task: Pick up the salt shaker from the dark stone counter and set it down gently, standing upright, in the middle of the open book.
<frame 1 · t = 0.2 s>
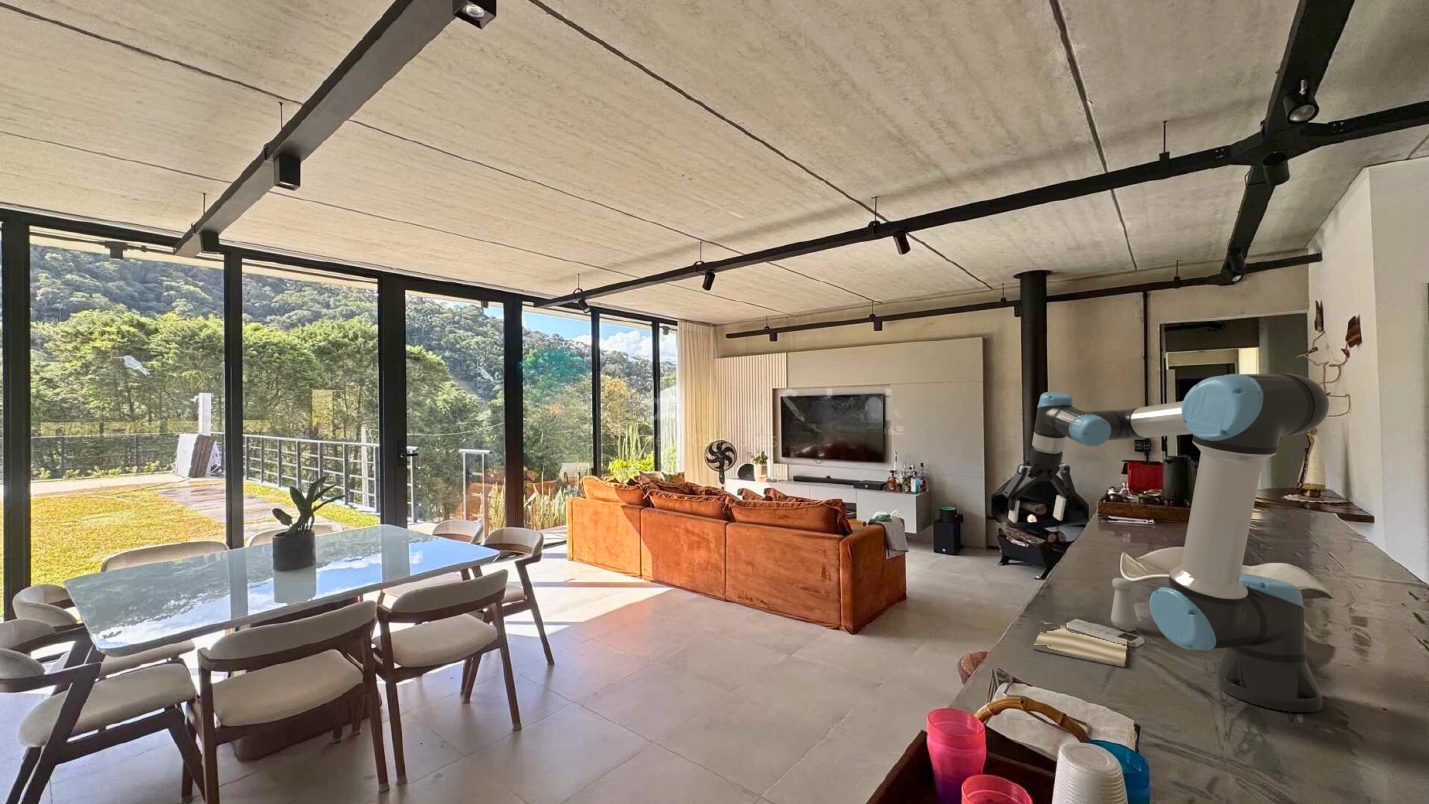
hand: (1034, 519, 160), 27 cm above the counter, tool tilted 20°, fingers open, 13 cm apart
open book: (1081, 645, 139), on the counter
salt shaker: (1124, 629, 148), on the counter
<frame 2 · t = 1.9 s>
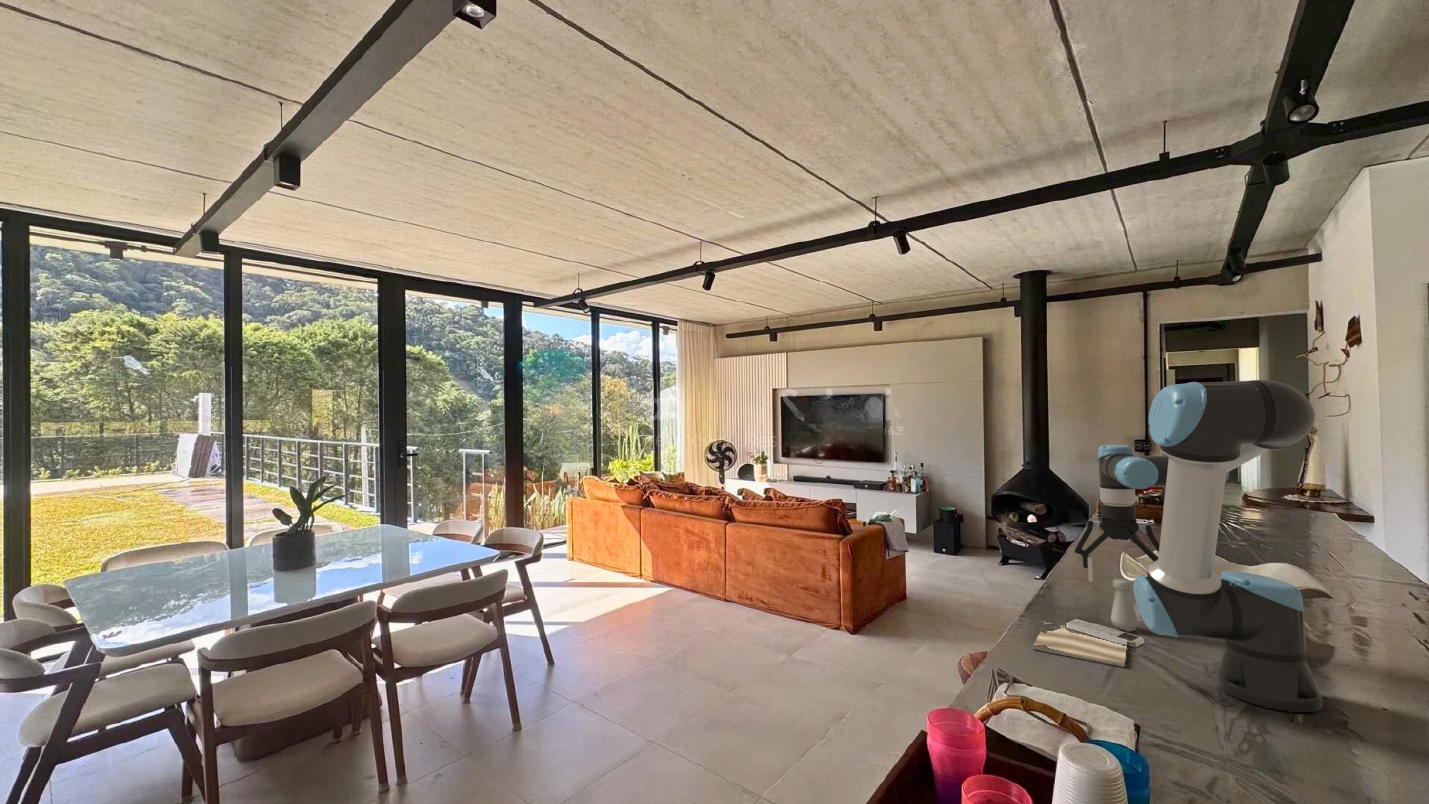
hand: (1121, 584, 149), 11 cm above the counter, tool pointing down, fingers open, 13 cm apart
nothing on the counter moved.
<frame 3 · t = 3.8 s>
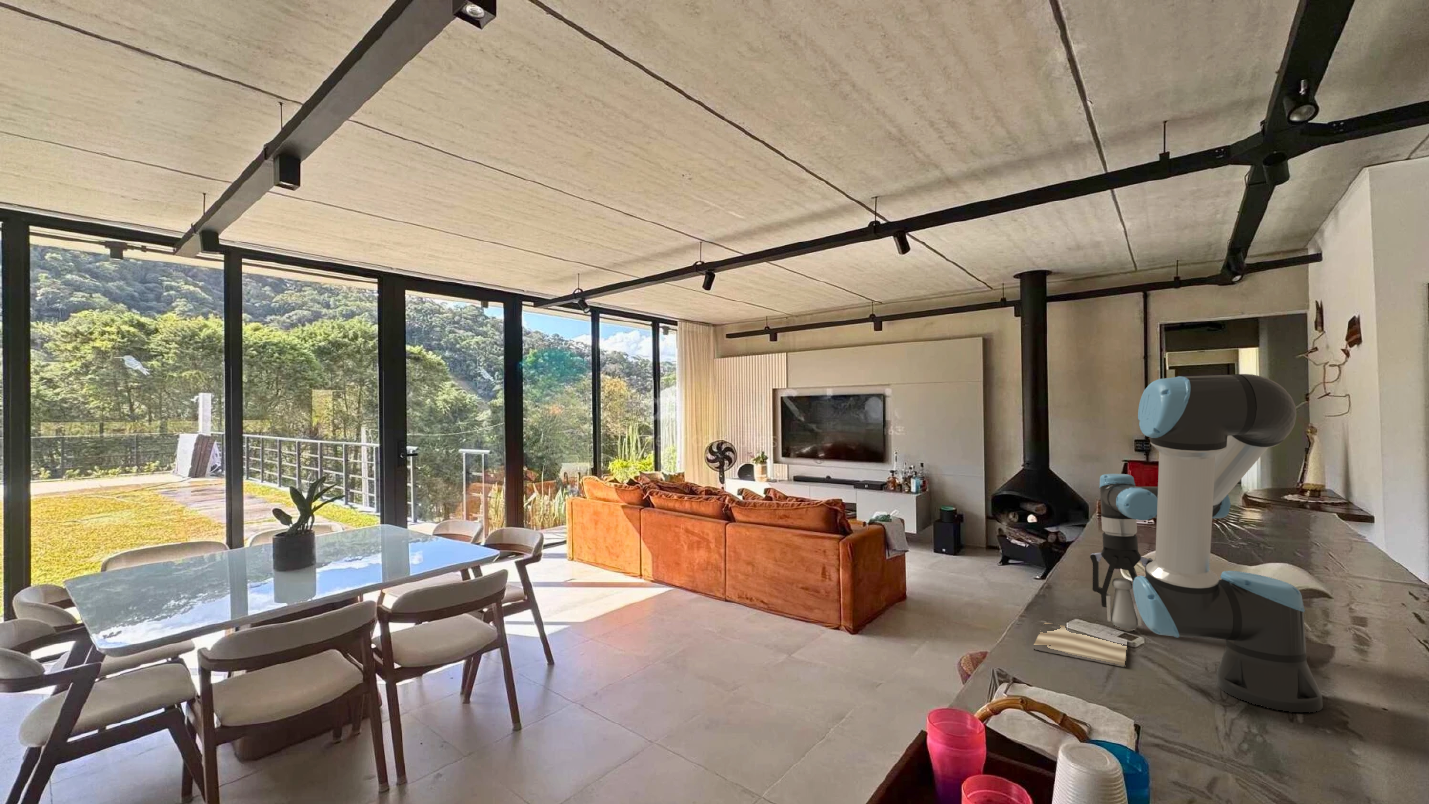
hand: (1124, 621, 148), 2 cm above the counter, tool pointing down, fingers closed on salt shaker, 6 cm apart
salt shaker: (1124, 629, 148), on the counter, touching gripper
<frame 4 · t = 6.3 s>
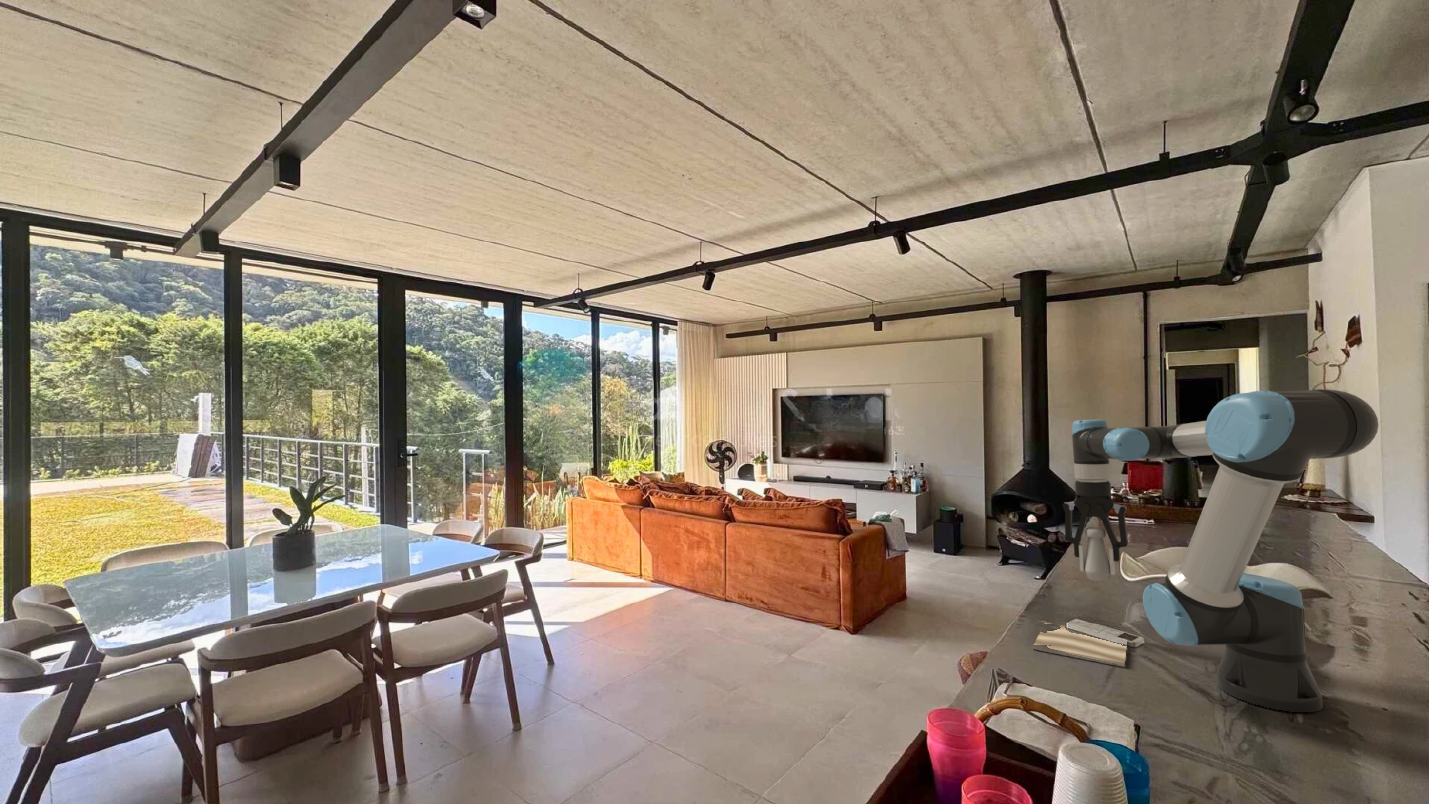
hand: (1097, 571, 143), 17 cm above the counter, tool pointing down, fingers closed on salt shaker, 6 cm apart
salt shaker: (1098, 580, 143), point 15 cm above the counter, touching gripper
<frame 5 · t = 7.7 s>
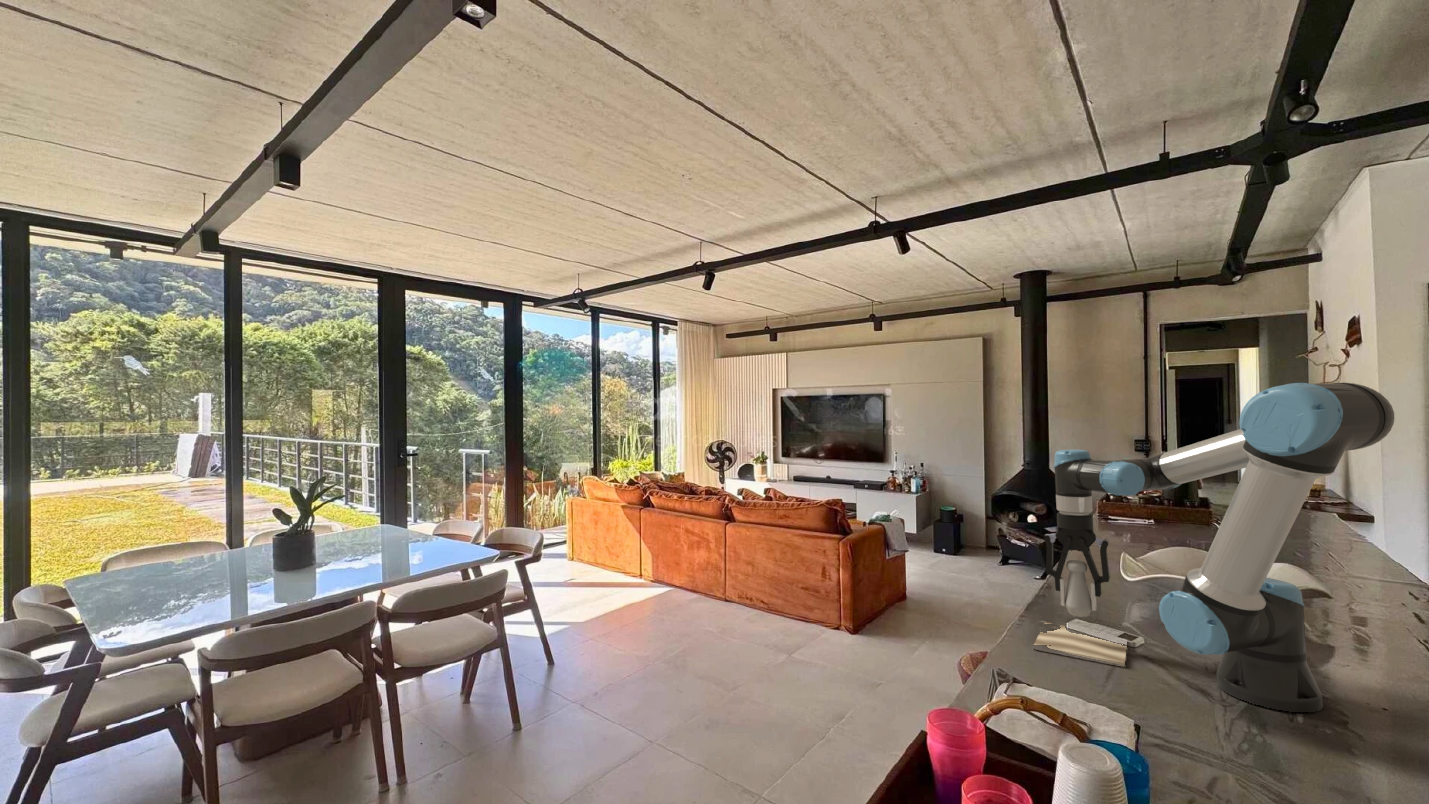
hand: (1078, 606, 139), 9 cm above the counter, tool pointing down, fingers closed on salt shaker, 6 cm apart
salt shaker: (1079, 614, 140), point 7 cm above the counter, touching gripper
when the fingers open (5 cm above the counter, at t = 9.0 s): salt shaker drops 1 cm, resting on open book.
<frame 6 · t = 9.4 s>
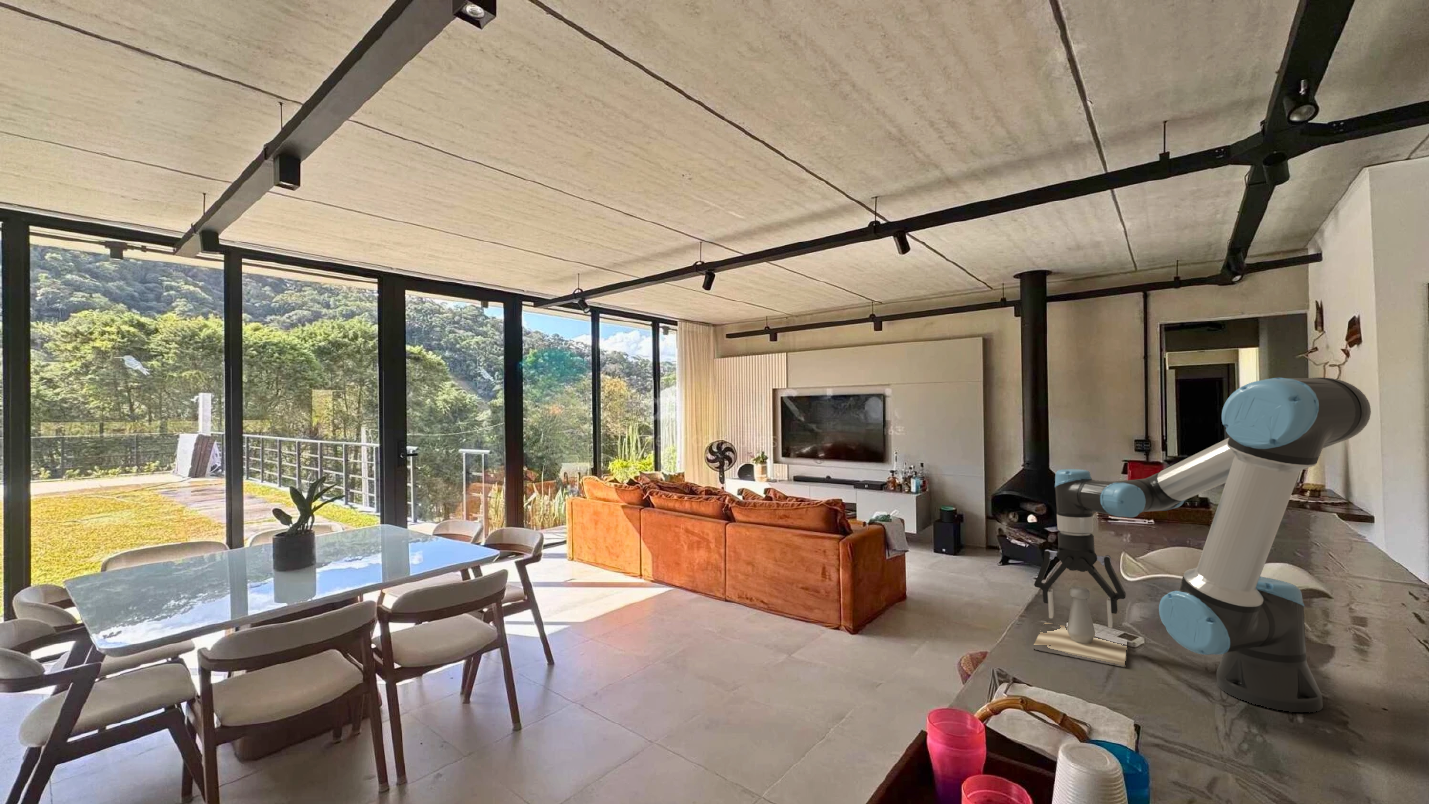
hand: (1080, 621, 139), 6 cm above the counter, tool pointing down, fingers open, 11 cm apart
salt shaker: (1081, 641, 139), point 1 cm above the counter, touching open book
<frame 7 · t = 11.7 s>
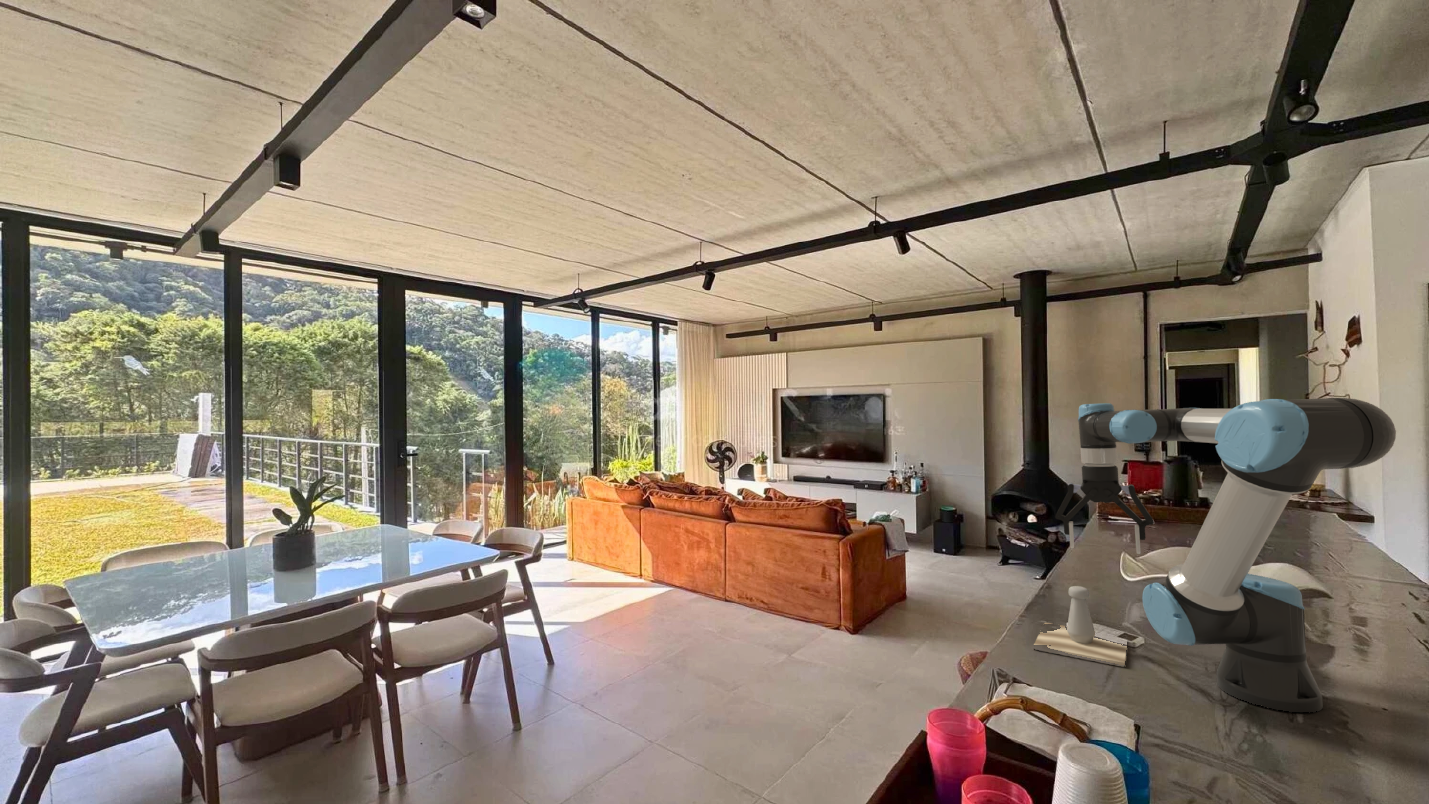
hand: (1104, 550, 141), 23 cm above the counter, tool pointing down, fingers open, 13 cm apart
nothing on the counter moved.
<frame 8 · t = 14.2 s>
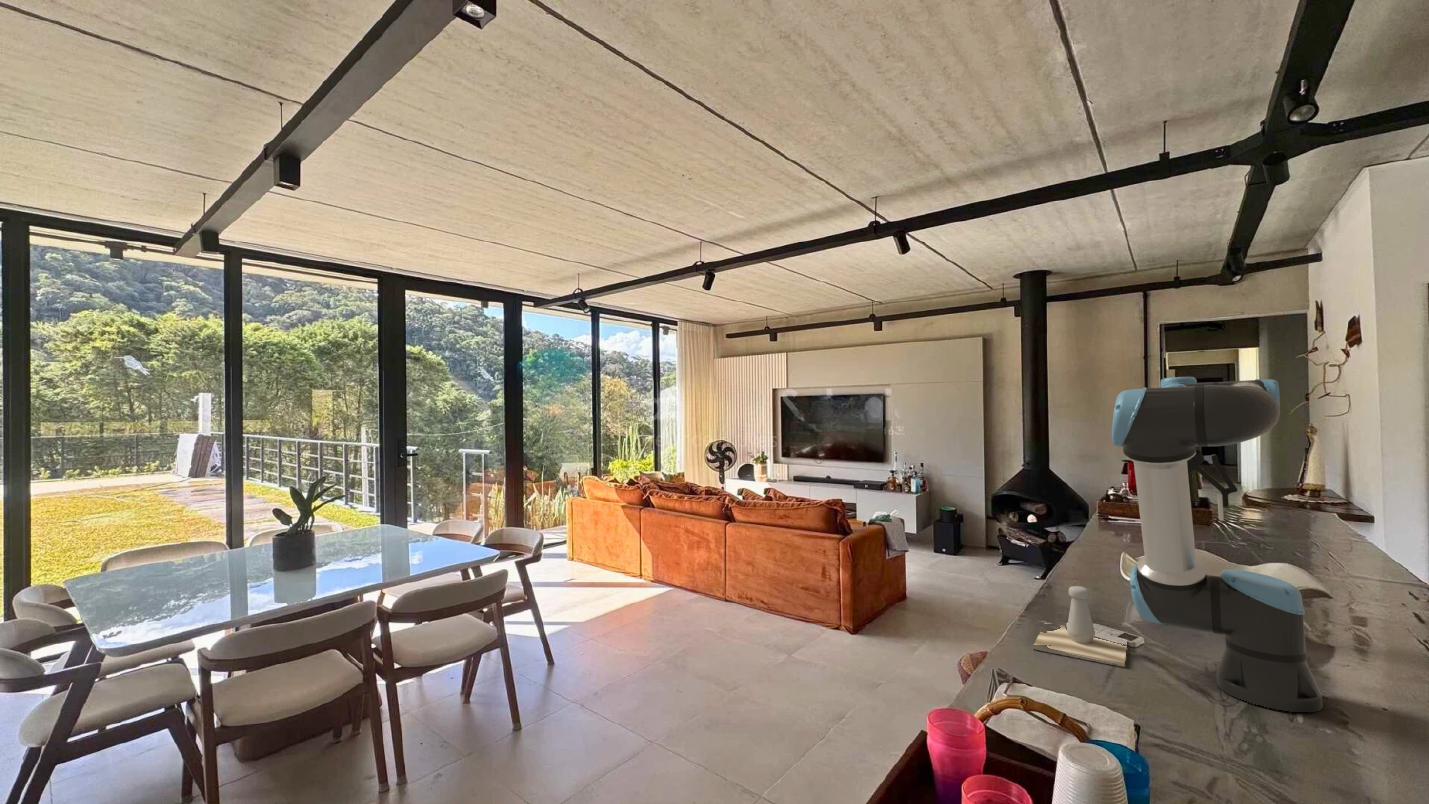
hand: (1186, 517, 148), 29 cm above the counter, tool pointing down, fingers open, 13 cm apart
nothing on the counter moved.
at the end: salt shaker inside the target area on the open book (0.0 cm from its centre), point 1.0 cm above the open book's base; salt shaker tilted 0°; the gripper is holding nothing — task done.
